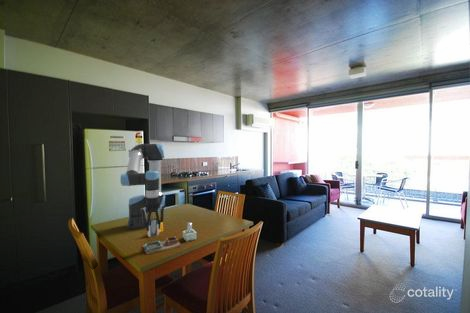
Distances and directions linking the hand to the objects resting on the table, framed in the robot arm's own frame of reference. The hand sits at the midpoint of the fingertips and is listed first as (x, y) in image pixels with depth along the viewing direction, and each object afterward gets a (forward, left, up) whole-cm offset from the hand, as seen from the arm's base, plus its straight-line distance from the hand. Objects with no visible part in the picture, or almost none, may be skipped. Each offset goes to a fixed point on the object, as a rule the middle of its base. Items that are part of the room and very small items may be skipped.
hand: (153, 234), depth 126 cm
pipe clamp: (-23, +6, -9) cm, 26 cm away
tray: (-2, +24, -9) cm, 25 cm away
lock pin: (-2, +23, -8) cm, 25 cm away
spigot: (0, 0, -1) cm, 1 cm away
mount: (0, +5, -9) cm, 10 cm away
